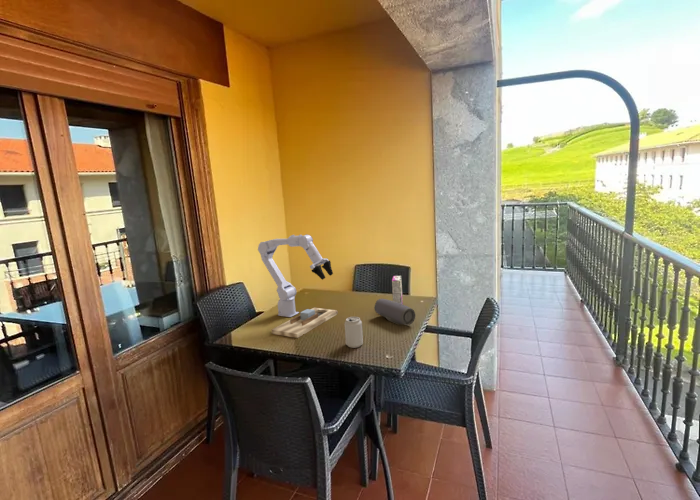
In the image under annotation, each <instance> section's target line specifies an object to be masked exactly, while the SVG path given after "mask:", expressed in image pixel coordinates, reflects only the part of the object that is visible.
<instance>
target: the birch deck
mask: <svg viewBox="0 0 700 500" xmlns="http://www.w3.org/2000/svg"><path fill="white" fill-rule="evenodd" d="M311 310H315V314H316V313H317V314H318V318H316V319H314V320H313V321H311V322H309V323H307V324H305V325H304V326H302V321H303V320H301V319H300V320H298V321H297V322H295V323H293V324H291V323H290V320H291V319H289V320H287V321H285V322H283V323H282V324H280V325H278V326H274V328H272V329H271V330H270V331H271V334H272V335H277V336H278V335H279V336H283V337H284V336H285V337H290V338H295V339H299V338H300V337H301V336H303V334H304V335H305V334H307V333H308V332H310V331H312V330H313V329H315V328H317V327H318V326H320V325H322V324H323V323H325V322H327V321H329V320H331V318H333V317H335V316H337V315H338V312H339V311H338V310H337V309H329V308H328V309H327V308H320V307H313V308H311Z"/></svg>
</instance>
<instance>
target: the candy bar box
mask: <svg viewBox="0 0 700 500" xmlns="http://www.w3.org/2000/svg"><path fill="white" fill-rule="evenodd" d="M402 284H403V283H402V275H393V276H392V279H391V289H392V291H391V292H392V301H394V302H397V303H400V304H402V305H404V301H403V285H402Z"/></svg>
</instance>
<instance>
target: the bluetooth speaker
mask: <svg viewBox="0 0 700 500" xmlns="http://www.w3.org/2000/svg"><path fill="white" fill-rule="evenodd" d="M373 308H374V311H375V313H376V314H378V315H379V316H381V317H384V318H386V320H387V321H389V322H390V323H392V324H395V325H405V326H410V325H413V323H414V322H415V319H416V312H415V309H413V308H411V307H409V306H407V305H405V304H400V303H397V302H394V301H393V300H390V299H386V298H379V299H377V300H376V301H375V304H374V307H373Z"/></svg>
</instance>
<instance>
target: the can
mask: <svg viewBox="0 0 700 500" xmlns="http://www.w3.org/2000/svg"><path fill="white" fill-rule="evenodd" d="M344 333H345V335H344V336H345V345H346V346H347V347H349V348H351V349H352V348H353V349H354V348H355V349H356V348H357V349H358V348H360V347H361V346H363V344H364V339H363V338H364V337H363V321H362V320H361V317H358V316H350V317H347V318H345V321H344Z"/></svg>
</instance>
